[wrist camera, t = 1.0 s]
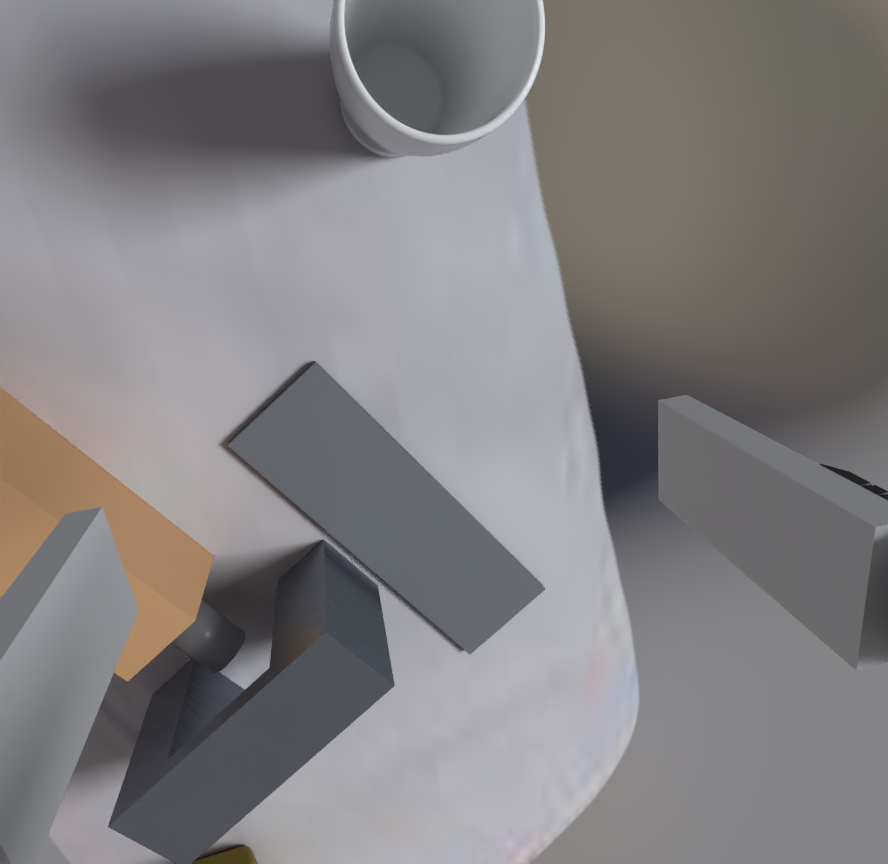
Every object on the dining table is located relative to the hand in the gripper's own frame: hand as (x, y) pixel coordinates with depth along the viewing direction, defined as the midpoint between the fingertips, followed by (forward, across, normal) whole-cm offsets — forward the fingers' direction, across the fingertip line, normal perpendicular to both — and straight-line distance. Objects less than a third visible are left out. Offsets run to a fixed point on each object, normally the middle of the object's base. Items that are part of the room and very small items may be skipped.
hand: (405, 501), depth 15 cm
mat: (+23, +1, -13) cm, 27 cm away
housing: (+23, -9, -20) cm, 32 cm away
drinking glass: (+24, +4, +11) cm, 27 cm away
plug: (+24, -16, -9) cm, 30 cm away
